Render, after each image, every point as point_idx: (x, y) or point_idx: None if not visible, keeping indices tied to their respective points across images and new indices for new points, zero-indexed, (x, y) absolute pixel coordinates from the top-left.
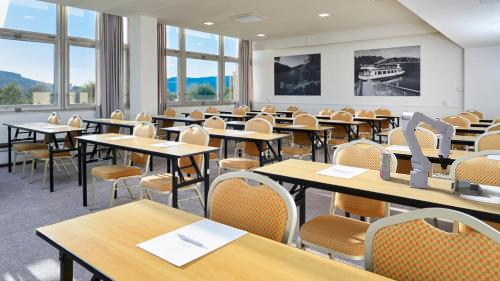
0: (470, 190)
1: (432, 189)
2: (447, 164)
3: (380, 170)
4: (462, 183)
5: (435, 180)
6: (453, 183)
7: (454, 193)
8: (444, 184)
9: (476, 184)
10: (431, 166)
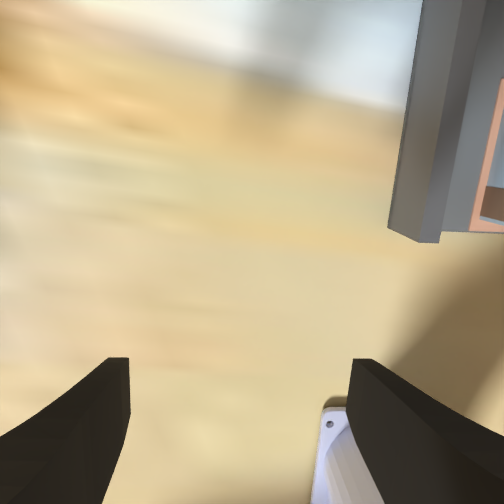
0: (476, 52)
1: (448, 377)
2: (453, 416)
3: None
4: None
5: (74, 331)
6: (439, 222)
7: None
8: (233, 266)
9: None
10: None
